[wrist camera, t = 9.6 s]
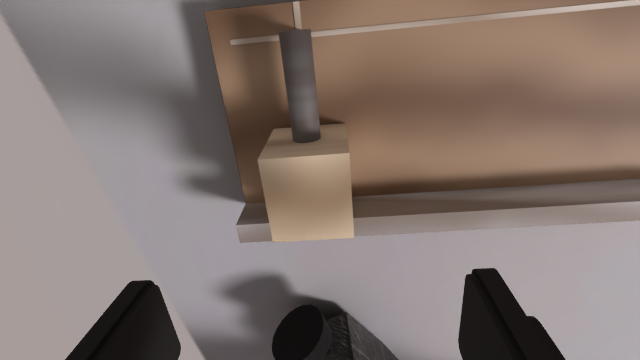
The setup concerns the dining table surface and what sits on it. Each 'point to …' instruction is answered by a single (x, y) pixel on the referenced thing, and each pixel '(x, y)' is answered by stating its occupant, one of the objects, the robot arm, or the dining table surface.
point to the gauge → (306, 158)
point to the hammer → (325, 338)
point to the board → (449, 107)
